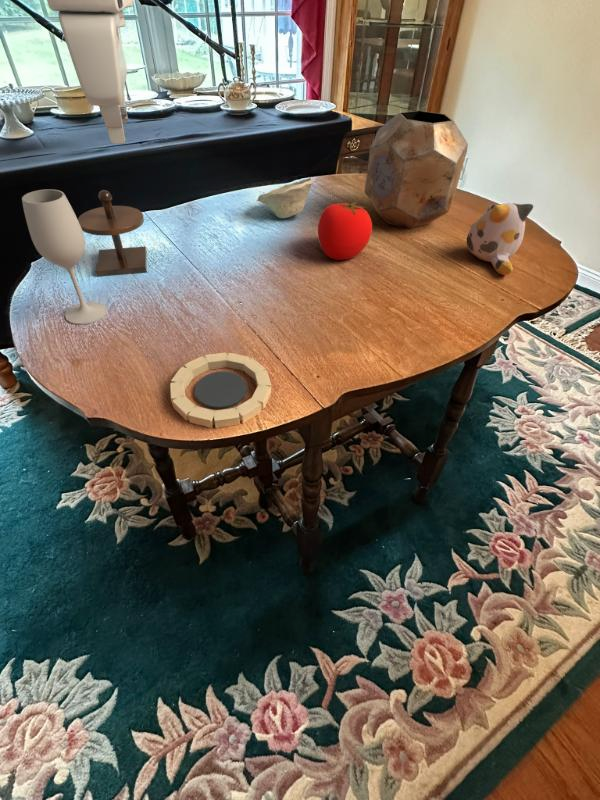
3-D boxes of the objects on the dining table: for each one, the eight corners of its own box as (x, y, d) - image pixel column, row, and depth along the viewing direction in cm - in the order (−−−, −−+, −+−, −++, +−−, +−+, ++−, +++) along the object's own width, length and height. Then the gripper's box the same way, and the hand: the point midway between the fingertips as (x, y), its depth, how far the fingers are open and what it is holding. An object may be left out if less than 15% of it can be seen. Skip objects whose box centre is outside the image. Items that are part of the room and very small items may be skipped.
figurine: (504, 234, 107) (536, 185, 93) (519, 292, 101) (556, 249, 87) (456, 235, 107) (481, 186, 93) (469, 293, 101) (498, 250, 87)
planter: (354, 202, 125) (366, 104, 108) (436, 203, 127) (461, 107, 110) (367, 235, 109) (383, 127, 93) (460, 236, 111) (493, 130, 94)
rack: (90, 280, 89) (64, 204, 78) (94, 252, 98) (72, 181, 87) (153, 274, 92) (136, 200, 81) (152, 248, 100) (137, 178, 89)
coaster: (197, 413, 63) (196, 410, 63) (193, 377, 69) (192, 374, 69) (250, 405, 65) (250, 402, 65) (242, 371, 71) (242, 368, 70)
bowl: (284, 201, 124) (284, 163, 117) (322, 215, 117) (325, 176, 110) (246, 215, 115) (244, 175, 108) (285, 231, 109) (286, 190, 102)
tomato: (304, 258, 99) (306, 207, 91) (329, 237, 108) (333, 188, 100) (353, 272, 95) (360, 220, 87) (375, 248, 104) (383, 199, 96)
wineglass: (83, 330, 77) (37, 209, 62) (55, 316, 79) (4, 198, 65) (116, 310, 82) (80, 194, 67) (89, 298, 84) (49, 184, 69)
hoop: (174, 434, 60) (172, 427, 59) (170, 366, 71) (168, 359, 70) (278, 418, 63) (279, 411, 62) (260, 355, 74) (260, 348, 72)
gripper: (67, -20, 53) (100, 113, 62) (39, -15, 39) (87, 156, 48) (121, -18, 54) (145, 113, 64) (113, -12, 40) (145, 154, 50)
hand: (120, 132), depth 56 cm, fingers open, 8 cm apart
